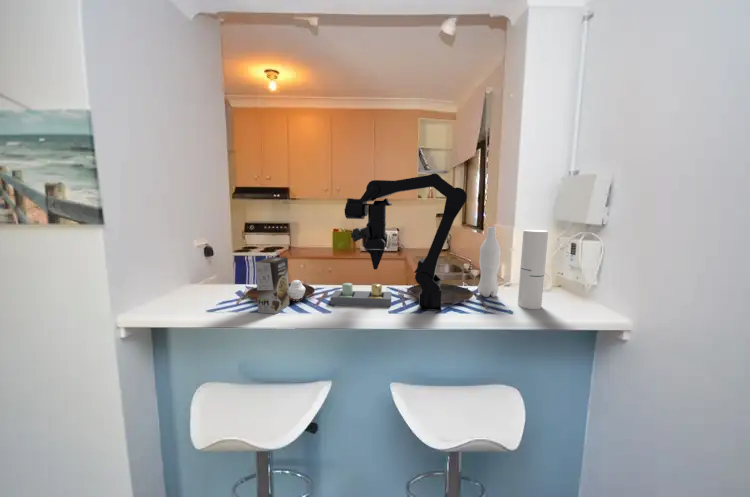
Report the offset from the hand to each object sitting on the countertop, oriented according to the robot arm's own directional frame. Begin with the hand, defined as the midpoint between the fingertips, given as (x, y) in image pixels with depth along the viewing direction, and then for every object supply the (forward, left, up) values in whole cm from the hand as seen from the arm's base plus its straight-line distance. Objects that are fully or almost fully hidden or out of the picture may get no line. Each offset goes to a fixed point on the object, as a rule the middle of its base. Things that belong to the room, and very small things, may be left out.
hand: (376, 266), depth 107 cm
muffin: (+28, 0, -13) cm, 31 cm away
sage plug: (+10, 0, -12) cm, 16 cm away
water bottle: (-40, -11, -13) cm, 44 cm away
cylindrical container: (-51, -1, -13) cm, 53 cm away
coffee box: (+32, +10, -13) cm, 36 cm away
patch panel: (+5, 0, -12) cm, 13 cm away
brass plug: (0, 0, -12) cm, 12 cm away
